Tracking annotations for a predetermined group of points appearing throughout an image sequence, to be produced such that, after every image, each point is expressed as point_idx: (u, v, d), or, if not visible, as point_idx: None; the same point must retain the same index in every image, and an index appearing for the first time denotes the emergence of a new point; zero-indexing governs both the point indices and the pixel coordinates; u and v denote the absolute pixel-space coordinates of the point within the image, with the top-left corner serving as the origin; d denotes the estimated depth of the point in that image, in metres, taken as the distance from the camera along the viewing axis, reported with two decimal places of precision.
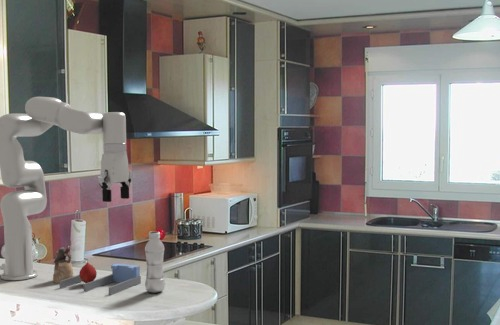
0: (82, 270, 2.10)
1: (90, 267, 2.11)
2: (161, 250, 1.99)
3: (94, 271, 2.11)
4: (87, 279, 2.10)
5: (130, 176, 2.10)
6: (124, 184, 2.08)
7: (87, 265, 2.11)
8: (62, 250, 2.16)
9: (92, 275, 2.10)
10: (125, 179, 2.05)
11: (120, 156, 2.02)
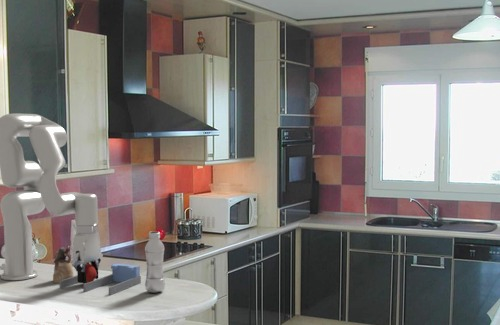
0: None
1: (90, 267, 2.11)
2: (161, 250, 1.99)
3: (94, 271, 2.11)
4: (87, 279, 2.10)
5: (100, 256, 2.17)
6: (93, 264, 2.15)
7: (87, 265, 2.11)
8: (62, 250, 2.16)
9: (92, 275, 2.10)
10: (97, 257, 2.13)
11: (91, 237, 2.10)
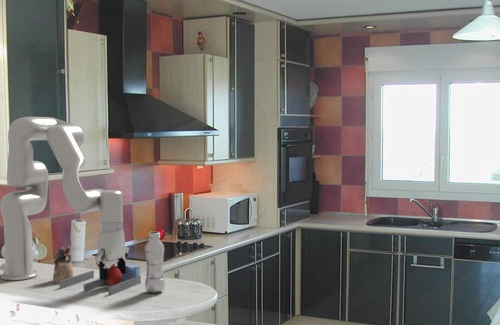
0: (108, 272, 2.07)
1: (116, 269, 2.07)
2: (161, 250, 1.99)
3: (120, 273, 2.08)
4: (113, 281, 2.06)
5: (127, 251, 2.14)
6: (121, 259, 2.13)
7: (113, 267, 2.08)
8: (62, 250, 2.16)
9: (118, 277, 2.07)
10: (122, 255, 2.09)
11: (116, 234, 2.06)
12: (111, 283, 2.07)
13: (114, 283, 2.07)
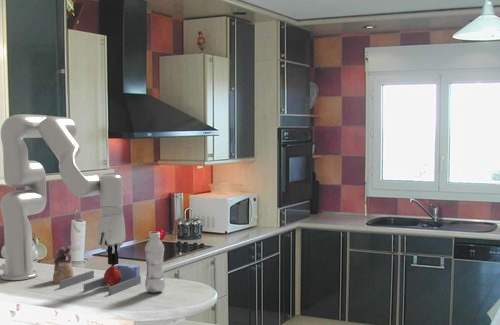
0: (107, 272, 2.06)
1: (115, 270, 2.07)
2: (161, 250, 1.99)
3: (119, 273, 2.08)
4: (112, 282, 2.06)
5: (121, 243, 2.11)
6: None
7: (112, 267, 2.07)
8: (62, 250, 2.16)
9: (117, 277, 2.07)
10: (122, 240, 2.09)
11: (116, 218, 2.05)
12: (111, 283, 2.06)
13: (114, 283, 2.07)
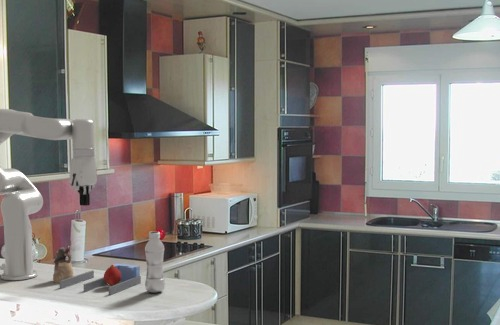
0: (107, 272, 2.06)
1: (115, 270, 2.07)
2: (161, 250, 1.99)
3: (119, 273, 2.08)
4: (112, 282, 2.06)
5: (92, 185, 2.20)
6: (85, 190, 2.18)
7: (112, 267, 2.07)
8: (62, 250, 2.16)
9: (117, 277, 2.07)
10: (93, 182, 2.18)
11: (88, 161, 2.15)
12: (111, 283, 2.06)
13: (114, 283, 2.07)
